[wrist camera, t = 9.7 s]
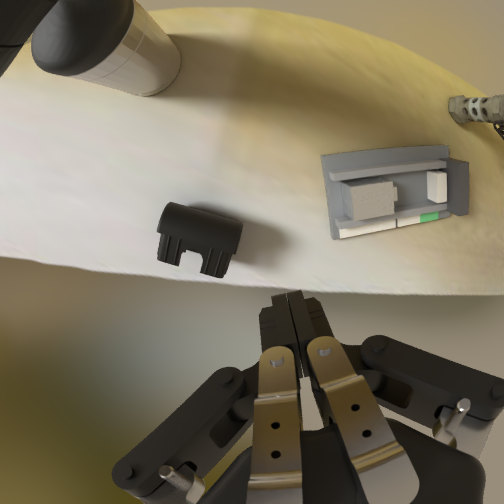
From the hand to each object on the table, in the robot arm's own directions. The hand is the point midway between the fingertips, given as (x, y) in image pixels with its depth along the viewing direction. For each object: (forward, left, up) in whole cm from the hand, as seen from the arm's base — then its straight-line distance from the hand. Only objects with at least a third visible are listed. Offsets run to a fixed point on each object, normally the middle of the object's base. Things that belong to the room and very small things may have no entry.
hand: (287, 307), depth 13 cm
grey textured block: (+2, +15, -24) cm, 29 cm away
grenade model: (-9, +36, -26) cm, 45 cm away
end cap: (+3, -9, -26) cm, 28 cm away
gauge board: (+2, +20, -26) cm, 33 cm away
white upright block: (+2, +27, -25) cm, 36 cm away
